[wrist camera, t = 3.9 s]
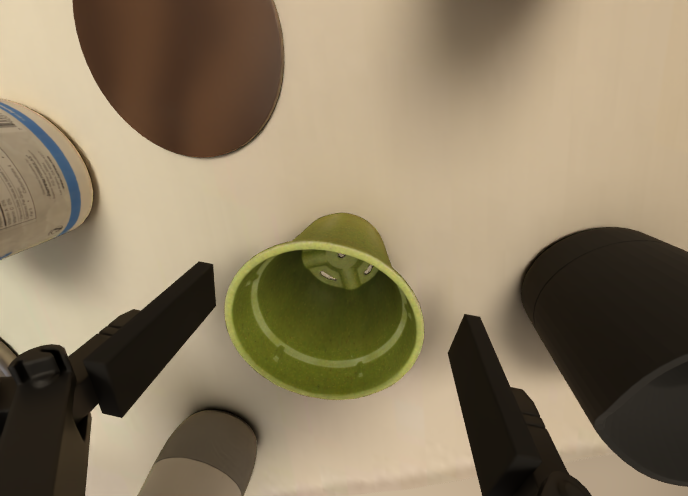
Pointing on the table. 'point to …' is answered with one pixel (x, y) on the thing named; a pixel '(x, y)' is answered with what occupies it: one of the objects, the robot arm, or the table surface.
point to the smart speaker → (204, 458)
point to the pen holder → (620, 340)
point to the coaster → (186, 68)
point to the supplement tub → (38, 181)
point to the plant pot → (326, 313)
